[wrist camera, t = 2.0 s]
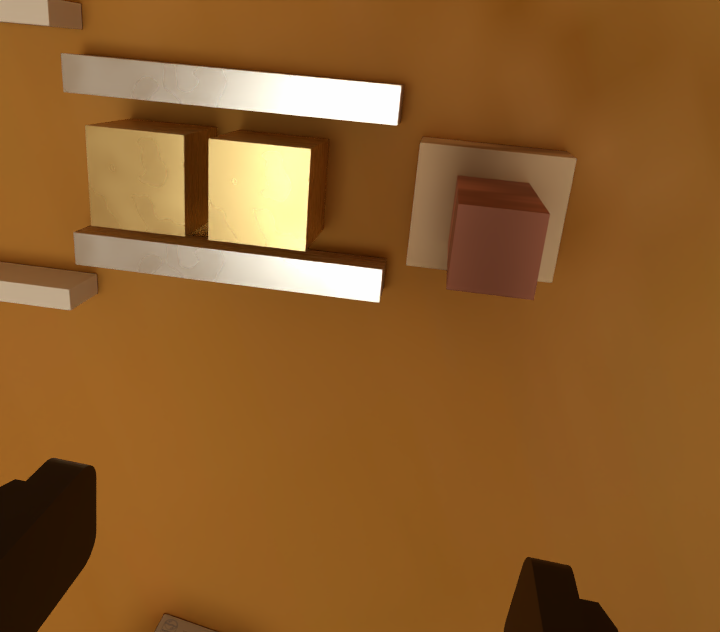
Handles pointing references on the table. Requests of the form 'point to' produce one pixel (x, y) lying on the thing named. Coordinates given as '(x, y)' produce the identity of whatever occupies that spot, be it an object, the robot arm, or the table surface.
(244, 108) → the rail
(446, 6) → the table surface
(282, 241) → the pale yellow cube
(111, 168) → the tan cube
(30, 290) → the l-shaped corner bracket
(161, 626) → the light bulb box
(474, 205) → the block on square base
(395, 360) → the table surface
